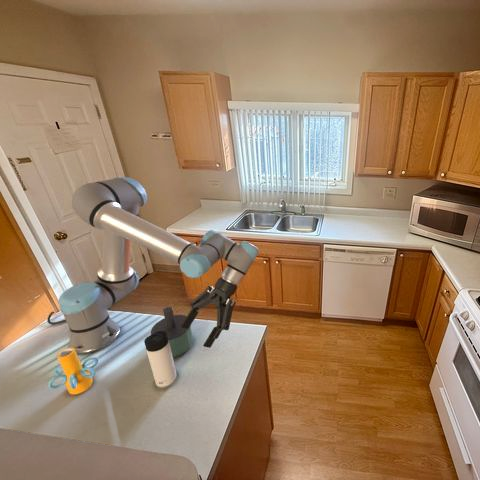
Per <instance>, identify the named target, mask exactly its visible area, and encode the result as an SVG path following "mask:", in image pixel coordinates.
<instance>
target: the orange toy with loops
mask: <svg viewBox="0 0 480 480" xmlns="http://www.w3.org/2000/svg"><path fill="white" fill-rule="evenodd" d="M78 355H79V354H77V353H76V351H75V349H74V348H70V347H66V348H64V349H62V350H60V351H59V352H58V353H57V354H56V358H57V360H58V362H59V364H60V366H58V367H55V368H54V369H53V373H54V374H55V376H54V377H52V378H50V380H49V381H48V383H47V386H48V388H49V389H51V390H55V389H59V388H61V387H62V386H64V385H65V387H66V389H67V391H68V394H70V395H78V394H81V393H83V392H85V391H87V390H89V388H90V387H91V386H92V385H93V382H94V379H93V377H95V376H96V371H95V369H94V368H95V367H96V366H97V365H98V363H99V358H98V357H96V356H91V357H88V358H87V359H85V360H84V361H83V362H81V359H80V357H79V356H78ZM93 360H94V361H95V362H94V363H93V364H92V365H90V366H86V364H87V363H88V362H89V361H93ZM58 370H59V371H63V373H64V374H63V373H60V372H59V371H58ZM59 378H63V380H62V382H61V383H59V384H57V385H53V382H54V381H55V380H57V379H59Z"/></svg>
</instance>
